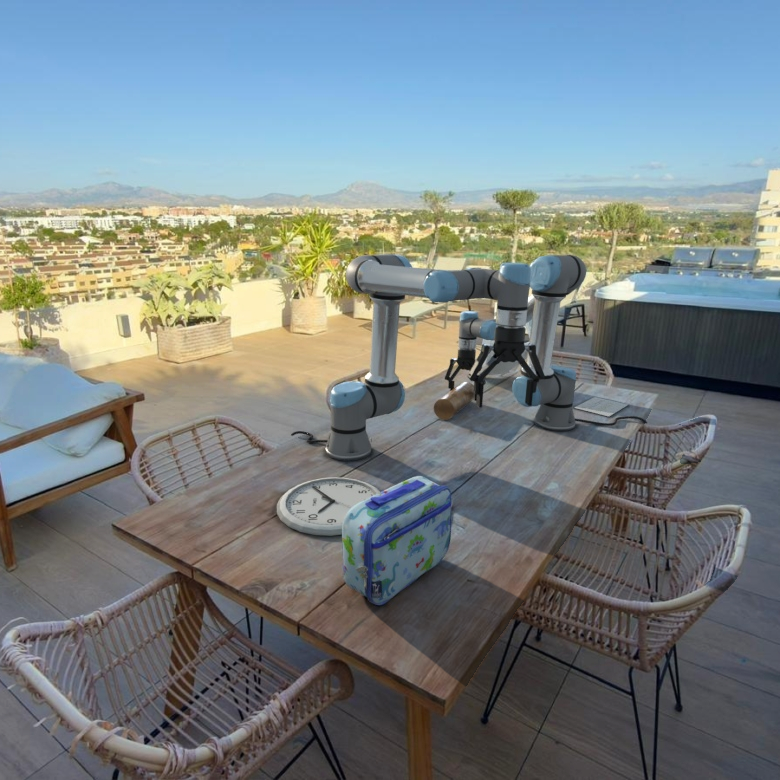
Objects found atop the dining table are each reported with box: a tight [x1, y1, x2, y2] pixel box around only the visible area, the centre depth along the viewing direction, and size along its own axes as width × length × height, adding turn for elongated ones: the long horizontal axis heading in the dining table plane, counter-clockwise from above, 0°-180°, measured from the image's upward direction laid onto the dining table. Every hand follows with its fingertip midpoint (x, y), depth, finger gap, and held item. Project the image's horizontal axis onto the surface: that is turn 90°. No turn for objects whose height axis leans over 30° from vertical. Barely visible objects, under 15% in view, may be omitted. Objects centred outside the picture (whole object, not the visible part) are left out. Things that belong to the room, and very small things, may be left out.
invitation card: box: [573, 396, 629, 418], centre depth 226 cm, size 21×1×15 cm
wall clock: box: [276, 476, 382, 537], centre depth 142 cm, size 30×2×30 cm
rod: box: [433, 381, 475, 421], centre depth 218 cm, size 27×9×9 cm, turn 153°
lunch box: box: [341, 475, 453, 606], centre depth 111 cm, size 26×11×21 cm, turn 134°
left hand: (503, 405), depth 139 cm, fingers open, 13 cm apart
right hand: (463, 397), depth 228 cm, fingers open, 11 cm apart
